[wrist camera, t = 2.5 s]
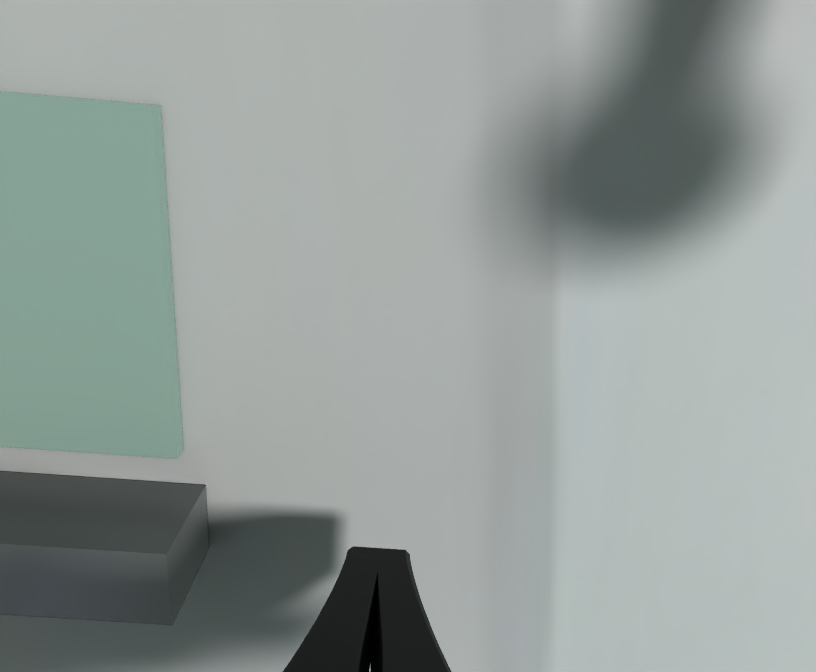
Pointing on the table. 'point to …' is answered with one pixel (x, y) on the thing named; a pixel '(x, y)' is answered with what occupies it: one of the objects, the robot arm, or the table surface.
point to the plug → (99, 547)
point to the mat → (86, 279)
